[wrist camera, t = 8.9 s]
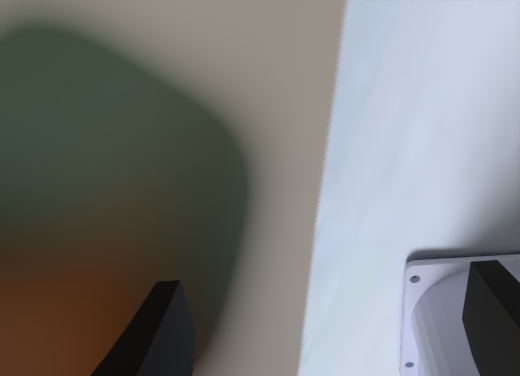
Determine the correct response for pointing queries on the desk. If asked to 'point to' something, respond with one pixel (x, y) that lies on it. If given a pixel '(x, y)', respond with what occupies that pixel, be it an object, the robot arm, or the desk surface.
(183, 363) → the robot arm
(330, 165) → the desk surface
